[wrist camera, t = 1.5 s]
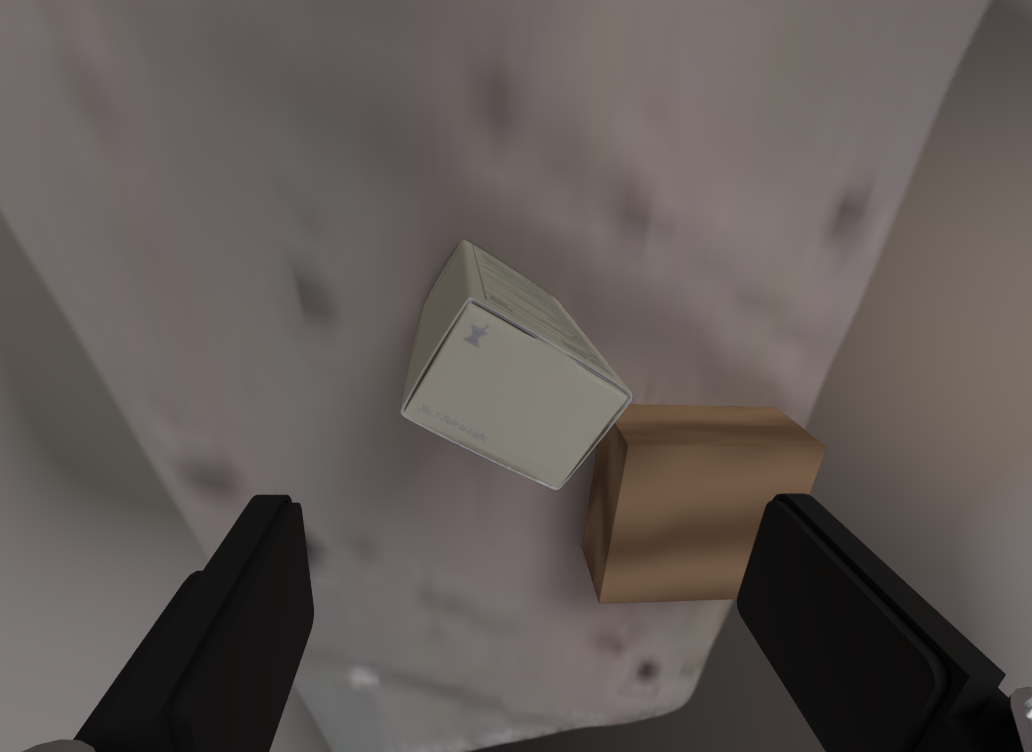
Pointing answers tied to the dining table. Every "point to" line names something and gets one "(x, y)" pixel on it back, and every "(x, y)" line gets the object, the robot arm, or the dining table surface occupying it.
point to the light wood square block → (688, 497)
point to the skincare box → (508, 372)
